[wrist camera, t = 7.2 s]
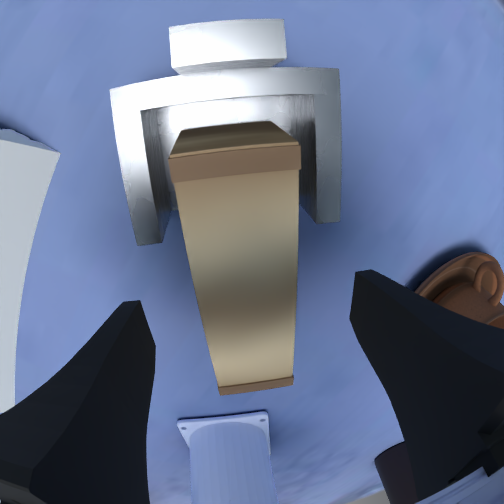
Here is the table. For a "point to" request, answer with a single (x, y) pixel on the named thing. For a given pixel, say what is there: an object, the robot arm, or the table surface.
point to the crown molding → (18, 236)
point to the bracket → (226, 114)
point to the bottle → (397, 475)
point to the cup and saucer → (468, 288)
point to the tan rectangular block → (242, 246)
